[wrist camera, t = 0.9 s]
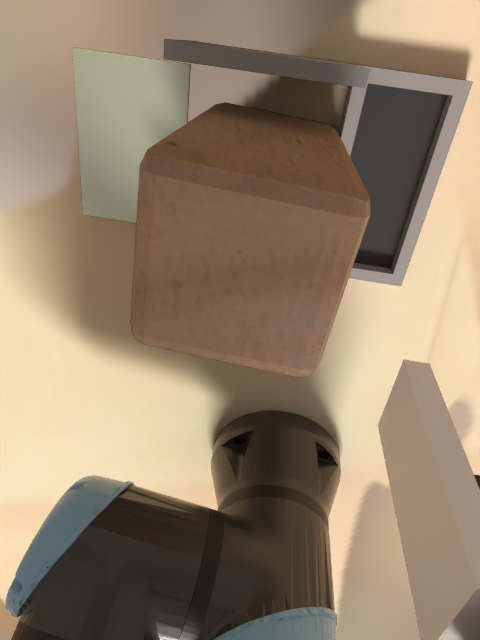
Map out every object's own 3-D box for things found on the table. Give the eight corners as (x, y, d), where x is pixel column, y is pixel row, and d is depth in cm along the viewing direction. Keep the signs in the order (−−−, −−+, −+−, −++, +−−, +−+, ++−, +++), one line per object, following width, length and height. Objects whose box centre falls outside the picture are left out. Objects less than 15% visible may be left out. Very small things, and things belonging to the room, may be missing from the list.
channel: (310, 264, 41) (312, 308, 34) (180, 244, 41) (157, 283, 34) (355, 64, 32) (370, 68, 26) (191, 40, 33) (164, 39, 26)
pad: (181, 229, 40) (180, 230, 40) (84, 213, 41) (82, 214, 40) (190, 64, 34) (189, 64, 33) (73, 47, 34) (71, 47, 34)
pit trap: (397, 278, 41) (401, 286, 39) (310, 264, 41) (310, 271, 40) (466, 80, 32) (472, 81, 31) (355, 64, 32) (357, 65, 31)
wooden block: (214, 98, 35) (133, 144, 18) (340, 125, 35) (382, 197, 18) (197, 221, 40) (123, 348, 23) (307, 244, 40) (315, 389, 23)
